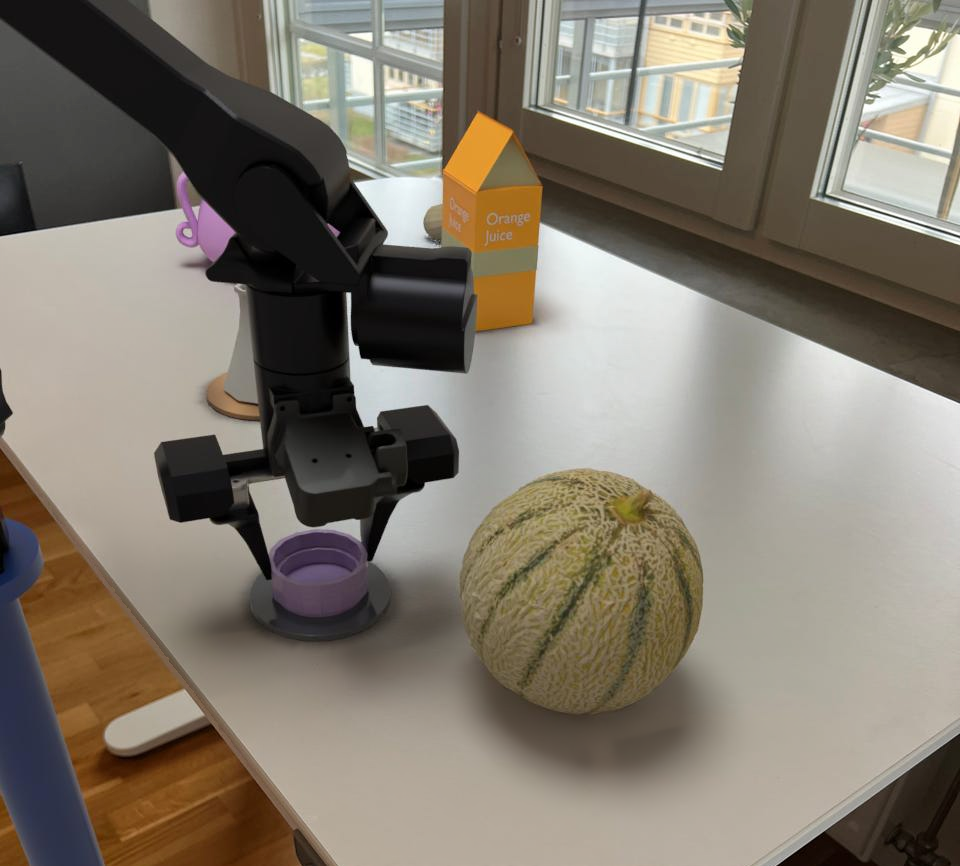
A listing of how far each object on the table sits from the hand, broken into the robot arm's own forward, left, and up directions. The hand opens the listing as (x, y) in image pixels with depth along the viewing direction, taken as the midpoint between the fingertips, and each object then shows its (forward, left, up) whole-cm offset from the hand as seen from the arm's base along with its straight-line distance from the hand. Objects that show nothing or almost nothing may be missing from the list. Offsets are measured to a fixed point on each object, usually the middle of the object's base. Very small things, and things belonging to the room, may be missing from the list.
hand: (318, 567), depth 69 cm
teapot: (+11, +66, -3) cm, 67 cm away
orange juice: (+31, +46, -3) cm, 56 cm away
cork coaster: (+3, +33, -2) cm, 33 cm away
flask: (+3, +33, -2) cm, 33 cm away
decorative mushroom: (+37, +67, -3) cm, 77 cm away
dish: (0, 0, -2) cm, 2 cm away
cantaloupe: (+13, -14, -3) cm, 19 cm away
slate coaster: (0, 0, -2) cm, 2 cm away
